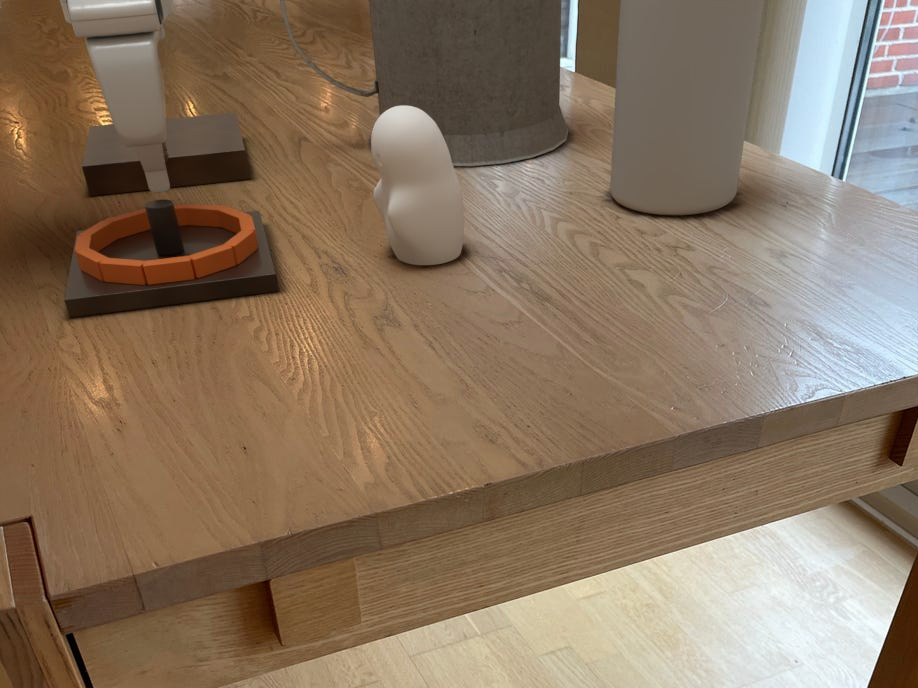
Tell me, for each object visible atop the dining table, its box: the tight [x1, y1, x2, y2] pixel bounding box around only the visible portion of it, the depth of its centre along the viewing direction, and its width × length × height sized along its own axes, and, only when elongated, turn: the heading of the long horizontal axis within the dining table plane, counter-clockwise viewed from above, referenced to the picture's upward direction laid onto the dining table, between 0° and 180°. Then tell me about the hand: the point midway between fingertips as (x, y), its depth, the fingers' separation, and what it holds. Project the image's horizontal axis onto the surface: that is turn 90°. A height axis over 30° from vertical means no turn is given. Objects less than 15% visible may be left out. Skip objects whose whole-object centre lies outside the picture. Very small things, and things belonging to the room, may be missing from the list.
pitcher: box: [279, 0, 569, 167], centre depth 105 cm, size 23×32×25 cm
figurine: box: [370, 105, 465, 266], centre depth 82 cm, size 7×8×12 cm
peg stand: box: [63, 198, 279, 318], centre depth 83 cm, size 17×17×6 cm
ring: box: [75, 203, 258, 285], centre depth 84 cm, size 15×15×2 cm
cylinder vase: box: [609, 0, 765, 216], centre depth 87 cm, size 12×12×25 cm
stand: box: [81, 112, 251, 197], centre depth 108 cm, size 17×17×3 cm
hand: (160, 174), depth 86 cm, fingers open, 8 cm apart
